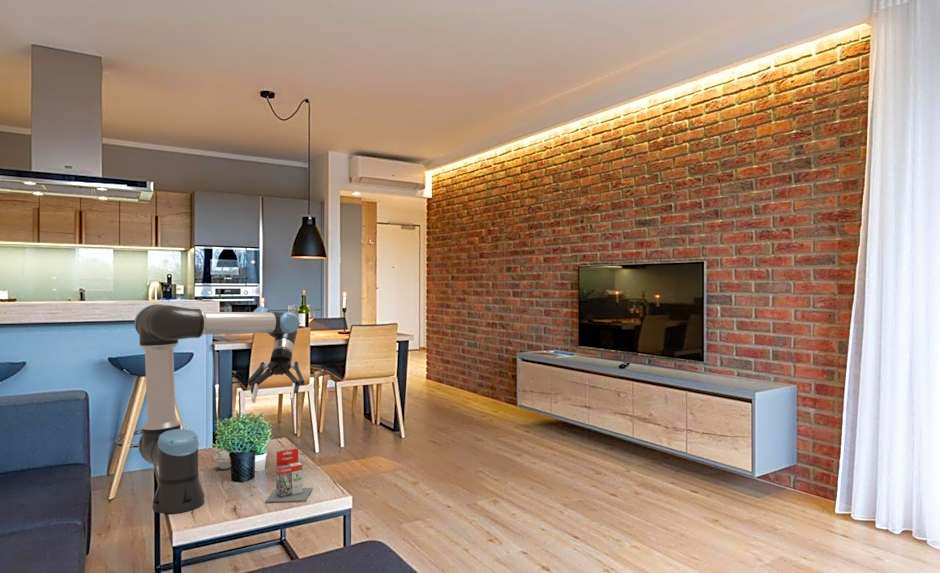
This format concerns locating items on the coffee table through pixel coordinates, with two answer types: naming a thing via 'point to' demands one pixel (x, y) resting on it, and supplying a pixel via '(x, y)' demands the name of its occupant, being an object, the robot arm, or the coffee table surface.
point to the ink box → (288, 474)
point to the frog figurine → (223, 459)
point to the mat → (289, 497)
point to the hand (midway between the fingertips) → (272, 400)
